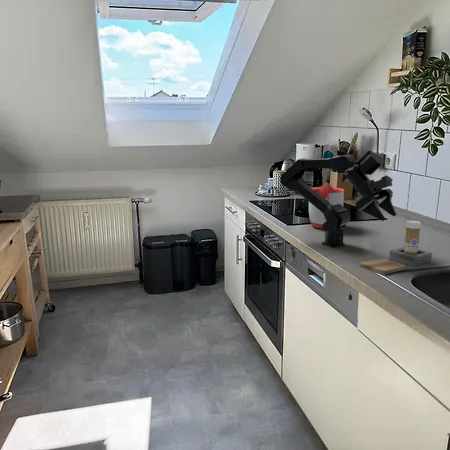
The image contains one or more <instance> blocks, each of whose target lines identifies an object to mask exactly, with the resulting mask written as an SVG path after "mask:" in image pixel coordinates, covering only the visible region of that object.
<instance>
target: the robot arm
mask: <svg viewBox="0 0 450 450" xmlns="http://www.w3.org/2000/svg"><path fill="white" fill-rule="evenodd" d="M384 163H385V162H384V159H383V158H382V157H381V156H380V155H378V154H377V153H376V152H374V151H373V150H367V151H366V153H365V154H364V155H363V156H362V157H361V158H355V157H354V155H352V154H343V155H337V156H334V157H328V158H327V157H326V158H322V157H321V158H306V157H305V158H299V159H297V160H295V162H293V164H291V166H290V167H288V168H287V169H286V171H284V172H283V173H281V174H280V184H281V185H282V186H283V187H285V188H286V189H288V190H290V191H294V192H296V193H298V195H300V196H301V197H302V198H304V199H305V200H306V201H308V203H309V202H310V203H311V204H312V205H314V206H315V207H316V208H317V209H318V210H320V211H321V212H322V213H323V214H324V217H325V219H326V220H327V221H326V222H325V223H323V224H322V227H323V228H322V230H323V231H325V233H324V234H325V235H324V241H322V242H321V244H323V245H325V246H328V247H331V248H337V247H342V246H345V245H346V243H345V242H344V230H343V229H345V228H346V226H347V224H349V222H351V214H350V212H349V211H348V209H347V208H345V207H344V205H343V206H342V205H341V204H336V205H332V204H331V203H329V202H328V201H327V200H326V199H324V198H323V197H322V196H321V195H319V194H318V193H317V192H316V191H314V190H313V189H312V188H313V187H310V186H309V185H308V184H307V183H306V182H305V179H304V177H303V176H305V172H306V170H307V169H310V170H311V169H328V170H332V171H336V172H341V173H342V172H347V171H349V172H347V173H344V174H342V180H341V182H342V183H344V182H349V183H350V184H351V185H352V186H353V188H354V189H355V191H354V192H355V194H357V195H358V194H359V195H360V196H361V197H360V198H359V199H357V201H356V202H355V203H354V204H355V205H354V207H355V208H356V209H357V211H361V212H363V213H366V214H368V215H370V216H371V217H373V218H376V219H378V220H380V221H382V222H384V221H386V218H385V215H384V214H383V212H382V211H381V209H382V210H383V211H385V212H387V214H390V216H392V217H396V216H397V212H396V210H395V208H394V205H393V201H392V198H393V194H394V192H393V191H392V189H391V188H388V187H392V186H393V183H392V182H393V178H392V177H391V176H388V175H384V176H382V177H381V178H380V179H379V180H376V181H375V180H374V179H370V178H369V177H368V176H367V175H369V176H370V175H373V174H374V173H376V171H377V170H379V169H380V168H381V167H382V166H383V165H384ZM355 167H356V168H355ZM354 168H355V169H354Z"/></svg>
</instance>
